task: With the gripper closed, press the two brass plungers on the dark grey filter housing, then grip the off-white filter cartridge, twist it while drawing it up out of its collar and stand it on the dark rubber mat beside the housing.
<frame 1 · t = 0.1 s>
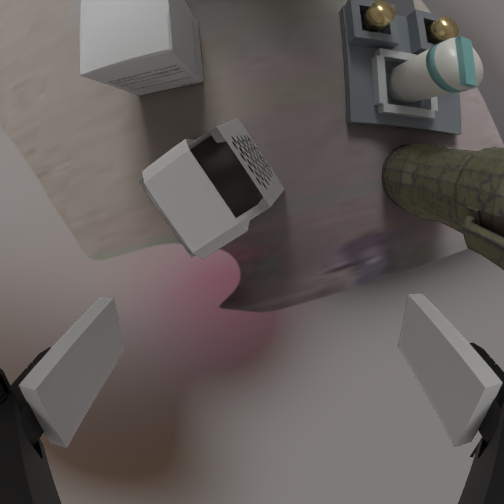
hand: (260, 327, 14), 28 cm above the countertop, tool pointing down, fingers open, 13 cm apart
grater: (225, 176, 39), on the countertop
thermos: (409, 176, 38), on the countertop
plunger b: (441, 30, 26), point 6 cm above the countertop, slide at 0.0 cm
plunger a: (378, 16, 27), point 6 cm above the countertop, slide at 0.0 cm
cartridge: (402, 85, 33), point 2 cm above the countertop, touching housing
housing: (401, 71, 34), on the countertop
supplement box: (167, 58, 35), on the countertop
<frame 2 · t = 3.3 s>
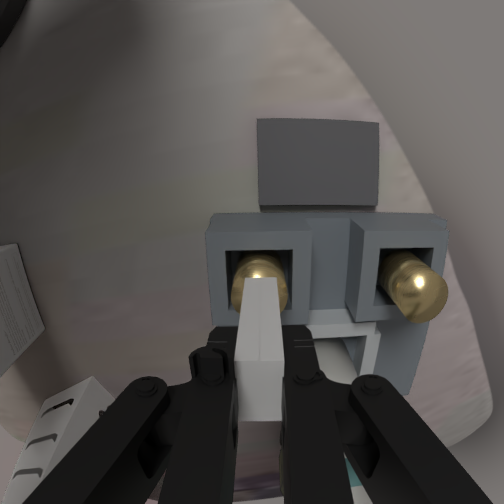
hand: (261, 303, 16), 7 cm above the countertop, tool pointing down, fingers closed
grater: (99, 420, 30), on the countertop
plunger b: (410, 283, 17), point 6 cm above the countertop, slide at 0.0 cm
plunger a: (259, 281, 18), point 5 cm above the countertop, slide at 1.1 cm
cartridge: (315, 356, 23), point 2 cm above the countertop, touching housing
mat: (319, 161, 20), on the countertop
housing: (326, 314, 24), on the countertop
supplement box: (4, 289, 25), on the countertop
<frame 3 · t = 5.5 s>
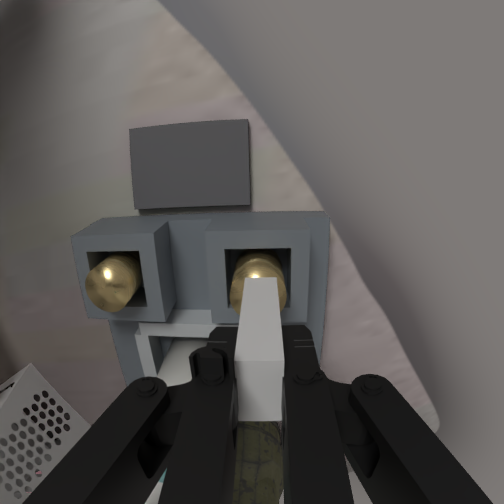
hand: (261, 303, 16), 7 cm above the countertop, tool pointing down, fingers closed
grater: (43, 406, 30), on the countertop
thermos: (236, 432, 29), on the countertop
plunger b: (258, 281, 18), point 5 cm above the countertop, slide at 0.8 cm, touching gripper
plunger a: (119, 276, 19), point 5 cm above the countertop, slide at 1.5 cm
cartridge: (200, 355, 23), point 2 cm above the countertop, touching housing
mat: (189, 164, 21), on the countertop
housing: (214, 314, 24), on the countertop
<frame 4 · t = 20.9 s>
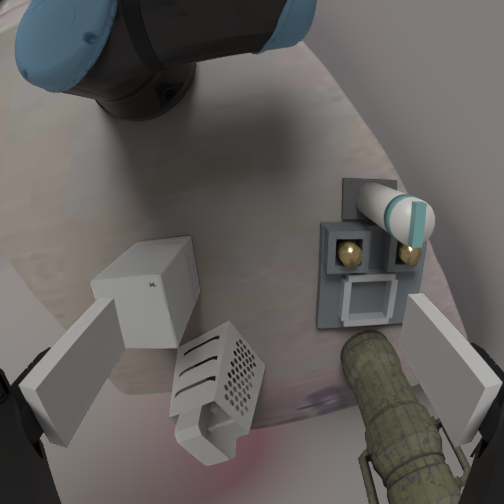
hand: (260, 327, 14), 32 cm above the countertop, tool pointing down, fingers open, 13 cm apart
grater: (221, 356, 52), on the countertop
thermos: (364, 351, 51), on the countertop
plunger b: (406, 250, 40), point 5 cm above the countertop, slide at 1.5 cm
plunger a: (348, 251, 41), point 5 cm above the countertop, slide at 1.5 cm
cartridge: (371, 199, 42), point 1 cm above the countertop, touching mat
mat: (369, 198, 43), on the countertop
housing: (370, 273, 46), on the countertop
supplement box: (168, 266, 47), on the countertop
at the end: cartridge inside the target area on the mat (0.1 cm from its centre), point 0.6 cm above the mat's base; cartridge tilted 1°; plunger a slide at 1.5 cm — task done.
